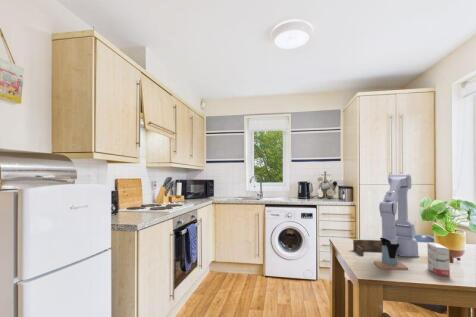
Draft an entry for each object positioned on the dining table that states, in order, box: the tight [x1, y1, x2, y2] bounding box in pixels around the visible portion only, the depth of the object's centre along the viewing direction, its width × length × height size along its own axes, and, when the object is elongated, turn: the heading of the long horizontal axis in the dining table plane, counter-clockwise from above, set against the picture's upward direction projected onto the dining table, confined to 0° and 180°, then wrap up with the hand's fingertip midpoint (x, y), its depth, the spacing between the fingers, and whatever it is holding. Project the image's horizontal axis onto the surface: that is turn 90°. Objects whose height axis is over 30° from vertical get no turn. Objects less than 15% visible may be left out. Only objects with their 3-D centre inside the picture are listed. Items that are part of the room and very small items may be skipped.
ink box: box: [426, 242, 451, 277], centre depth 115 cm, size 9×5×12 cm, turn 168°
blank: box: [381, 245, 398, 266], centre depth 122 cm, size 4×5×8 cm
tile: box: [372, 260, 409, 271], centre depth 122 cm, size 12×8×1 cm, turn 83°
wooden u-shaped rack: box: [352, 239, 383, 257], centre depth 141 cm, size 20×10×6 cm, turn 83°
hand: (389, 255), depth 122 cm, fingers open, 7 cm apart
